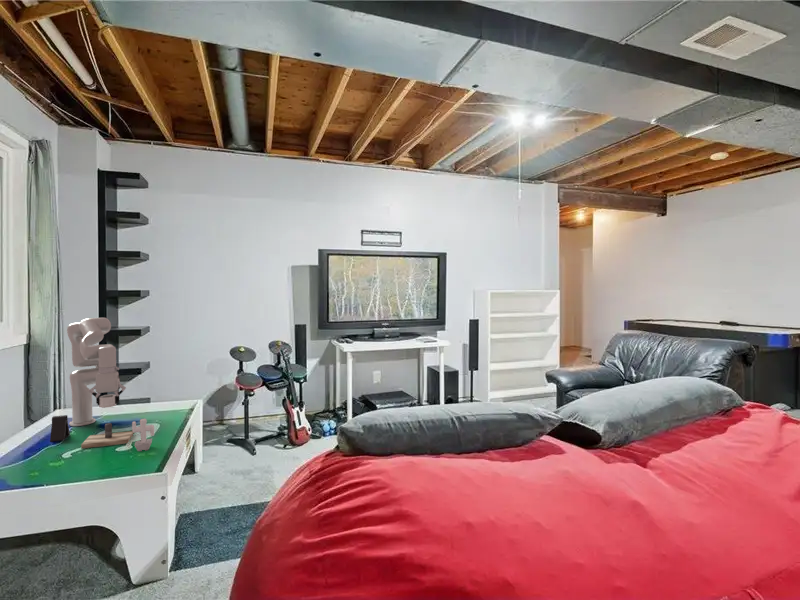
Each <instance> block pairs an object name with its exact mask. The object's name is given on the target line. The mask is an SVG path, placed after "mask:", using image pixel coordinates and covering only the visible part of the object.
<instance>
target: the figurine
mask: <svg viewBox="0 0 800 600" xmlns="http://www.w3.org/2000/svg"><path fill="white" fill-rule="evenodd" d="M147 423H148V420H147V418H141V419H139V424H140V425H139V426H137V422H136V421H132V422H131V428H132V429H131V431H133V433H134V434H137V433H140V439H139V440H135V442H134V447H135V449H136V451H137V452H143V451H142V450H145V451H149V450H150V447H151V445H152V442H153V438H147V432H150V436H151V437H154V436H155V426H154V425H153V424H148V425H147Z"/></svg>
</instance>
